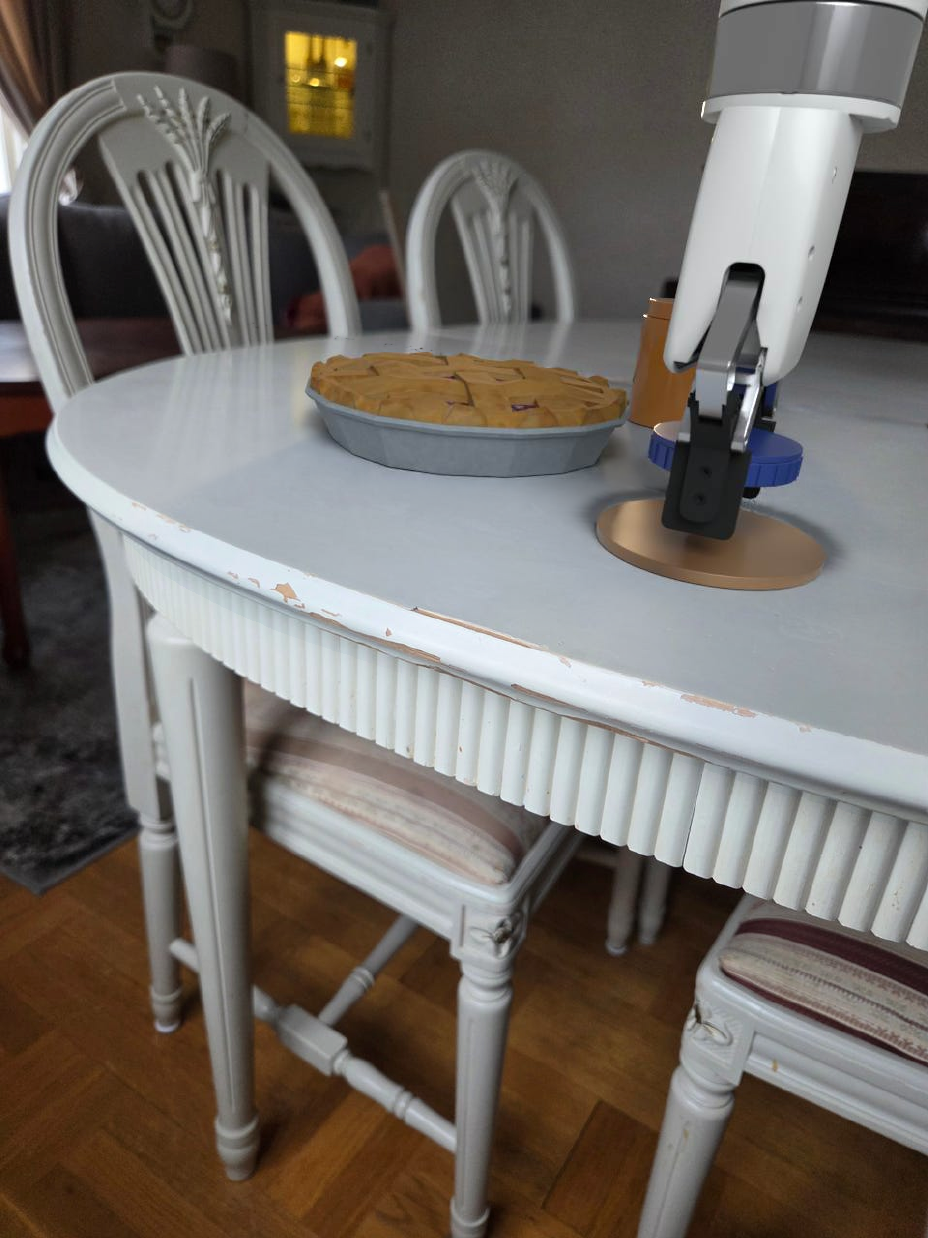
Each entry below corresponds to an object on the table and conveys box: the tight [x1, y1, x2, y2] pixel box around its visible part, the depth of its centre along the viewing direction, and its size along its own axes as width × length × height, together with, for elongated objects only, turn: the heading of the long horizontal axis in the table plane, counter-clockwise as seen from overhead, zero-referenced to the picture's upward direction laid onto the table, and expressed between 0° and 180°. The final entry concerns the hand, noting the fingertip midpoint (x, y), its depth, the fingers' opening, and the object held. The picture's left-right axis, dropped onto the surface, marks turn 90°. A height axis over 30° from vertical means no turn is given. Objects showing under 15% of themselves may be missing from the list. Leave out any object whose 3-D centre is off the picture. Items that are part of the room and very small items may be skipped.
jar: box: [627, 297, 697, 429], centre depth 66 cm, size 6×6×9 cm
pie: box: [304, 351, 631, 478], centre depth 56 cm, size 22×22×5 cm
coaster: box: [595, 498, 826, 591], centre depth 41 cm, size 11×11×1 cm
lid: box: [647, 421, 804, 488], centre depth 39 cm, size 7×7×1 cm
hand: (713, 508), depth 40 cm, fingers closed on lid, 6 cm apart
